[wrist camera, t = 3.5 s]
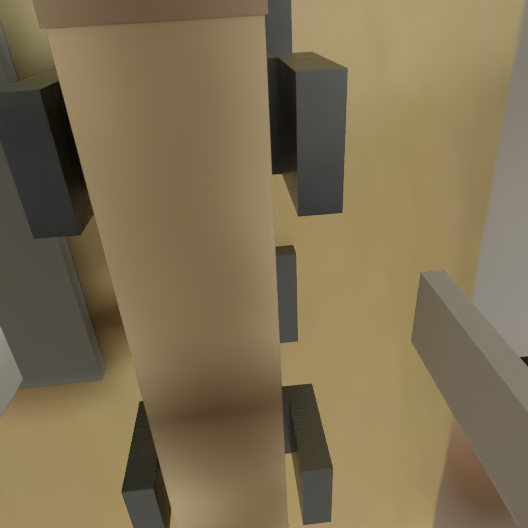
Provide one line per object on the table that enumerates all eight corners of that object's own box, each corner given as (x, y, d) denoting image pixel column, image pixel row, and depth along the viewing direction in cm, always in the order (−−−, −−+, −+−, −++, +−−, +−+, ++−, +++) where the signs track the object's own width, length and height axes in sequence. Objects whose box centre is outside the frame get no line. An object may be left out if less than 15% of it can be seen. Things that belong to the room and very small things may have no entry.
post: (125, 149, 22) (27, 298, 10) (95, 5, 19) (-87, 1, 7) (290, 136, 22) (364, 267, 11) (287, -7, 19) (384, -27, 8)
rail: (196, 502, 20) (192, 598, 16) (76, -63, 10) (6, -97, 6) (280, 492, 20) (292, 585, 17) (248, -72, 10) (262, -111, 7)
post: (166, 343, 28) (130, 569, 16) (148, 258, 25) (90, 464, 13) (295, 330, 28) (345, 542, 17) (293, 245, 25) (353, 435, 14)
